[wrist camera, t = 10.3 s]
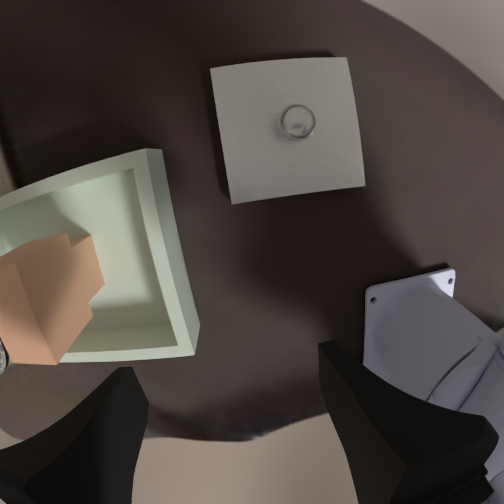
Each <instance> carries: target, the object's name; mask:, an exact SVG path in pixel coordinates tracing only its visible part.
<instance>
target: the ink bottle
mask: <svg viewBox="0 0 504 504" xmlns="http://www.w3.org/2000/svg"><path fill="white" fill-rule="evenodd" d="M8 363H9V354H8V352H7V350H6V348H5V346H4V344H3V342H2V340H1V337H0V375H1V374H2V373H3V371H4V370H5V369H6V367H7V365H8Z"/></svg>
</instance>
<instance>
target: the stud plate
mask: <svg viewBox="0 0 504 504" xmlns="http://www.w3.org/2000/svg"><path fill="white" fill-rule="evenodd" d="M210 72H211V79H212V85H213V92H214V98H215V104H216V111H217V117H218V123H219V129H220V136H221V142H222V148H223V154H224V160H225V166H226V173H227V179H228V185H229V191H230V197H231V203H232V204H237V203H244V202H250V201H256V200H263V199H269V198H276V197H283V196H290V195H297V194H304V193H312V192H319V191H327V190H335V189H343V188H352V187H361V186H365V176H364V166H363V156H362V148H361V140H360V132H359V125H358V118H357V112H356V105H355V99H354V94H353V88H352V83H351V77H350V72H349V67H348V62H347V58H344V57H327V58H297V59H282V60H270V61H260V62H251V63H243V64H236V65H229V66H222V67H216V68H211V69H210Z"/></svg>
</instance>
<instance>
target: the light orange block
mask: <svg viewBox="0 0 504 504" xmlns="http://www.w3.org/2000/svg"><path fill="white" fill-rule="evenodd" d="M104 285H105V282H104V279H103V275H102V272H101V269H100V265H99V262H98V258H97V254H96V251H95V247H94V243H93V239H92V235H89V236H84V237H79V238H75V239H70V240H69V237H68V233H63V234H59V235H55V236H50V237H46V238H42V239H38V240H34V241H30V242H26V243H24V244H22V245H20V246H19V247H17V248H15V249H13V250H11V251H9V252H8V253H6V254H4V255H2V256H0V337H1V340H2V342H3V344H4V346H5V348H6V350H7V352H8V354H9V356H10V358H11V360H12V361H13V363H25V364H45V365H57V364H58V363H59V361H60V360H61V358H62V357H63V356H64V354H65V353H66V352H67V350H68V349H69V347H70V346H71V345H72V343H73V342H74V341H75V339H76V338H77V337H78V335H79V334H80V333H81V331H82V330H83V329H84V327H85V326H86V325H87V323H88V322H89V321H90V319H91V318H92V317H93V314H92V311H91V308H90V306H89V301H90V300H91V299H92V298H93V297H94V296H95V295H96V293H97V292H98V291H99V290H100V289H101V288H102V287H103V286H104Z"/></svg>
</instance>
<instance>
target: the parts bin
mask: <svg viewBox="0 0 504 504" xmlns="http://www.w3.org/2000/svg"><path fill="white" fill-rule="evenodd" d="M63 233H68V237H69V240H70V239H75V238H79V237H84V236H89V235H92V239H93V243H94V247H95V251H96V254H97V258H98V262H99V265H100V269H101V272H102V275H103V279H104V282H105V285H104V286H103V287H102V288H101V289H100V290H99V291H98V292H97V293H96V295H95V296H94V297H93V298H92V299H91V300H90V301H89V306H90V308H91V311H92V314H93V317H92V318H91V319H90V321H89V322H88V323H87V325H86V326H85V327H84V329H83V330H82V331H81V333H80V334H79V335H78V337H77V338H76V339H75V341H74V342H73V343H72V345H71V346H70V347H69V349H68V350H67V352H66V353H65V354H64V356H63V357H62V358H61V360H60V361H59V362H105V361H128V360H144V359H158V358H170V357H181V356H191V355H195V351H196V345H197V340H198V334H199V329H200V322H199V319H198V315H197V311H196V307H195V303H194V299H193V295H192V291H191V287H190V283H189V279H188V275H187V271H186V267H185V262H184V258H183V254H182V249H181V245H180V240H179V236H178V231H177V226H176V221H175V217H174V212H173V207H172V202H171V197H170V192H169V186H168V181H167V176H166V170H165V164H164V159H163V153H162V149H148V148H145V149H141V150H137V151H133V152H129V153H125V154H122V155H118V156H114V157H111V158H107V159H104V160H101V161H97V162H94V163H91V164H87V165H84V166H81V167H78V168H75V169H72V170H69V171H66V172H63V173H60V174H57V175H54V176H51V177H49V178H46V179H43V180H41V181H38V182H35V183H33V184H30V185H27V186H25V187H22V188H20V189H17V190H15V191H12V192H10V193H8V194H5V195H3V196H1V197H0V256H2V255H4V254H6V253H8V252H9V251H11V250H13V249H15V248H17V247H19V246H20V245H22V244H24V243H26V242H30V241H34V240H38V239H42V238H46V237H50V236H55V235H59V234H63Z"/></svg>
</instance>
